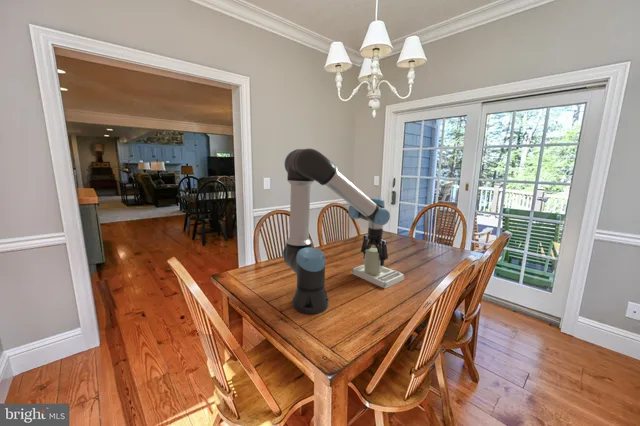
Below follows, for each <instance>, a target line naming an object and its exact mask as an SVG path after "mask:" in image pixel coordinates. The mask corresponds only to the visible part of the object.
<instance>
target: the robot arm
mask: <svg viewBox="0 0 640 426" xmlns="http://www.w3.org/2000/svg"><path fill="white" fill-rule="evenodd" d="M284 168H285V169H284V170H285V171H286V172H287V173H286V174H287V179H286V180H287V182H288V183H289V185H290V203H289V204H290V207H289V209H290V210H289V236H288V239H285V240H286V241H285V246H284V248H283V250H282V258H283V260H284V263H285V264H286V265H287V266H288V267H289V268H290V269H291V270H292V271H293V272H294V273H295V274H296V290H295V292H294V295H293V298H292V308H293V309H294V310H295V311H297V312H298V313H300V314H301V313H302V314H305V315H315V314H320V313H322V312H324V311H326V310H327V308H328V307H329V297H328V295H327V290H326V287H325V286H326V285H325V280H326V278H325V276H326V256H325V253H324V252H323V251H322V250H321V249H318V248H315V247H312V239H310V237H309V233H310V207H311V185H312V184H314V182H316V183H319V185H321V186H326V187H327V188H329V189H330V190H331V191H333V193H335V194H336V195H338V196H339V197H340V198H341V199H342V200H344V201H345V202H346V203H348V204H349V207H348V211H347V212H348V215H349V218H351V219H353V220H355V219H356V220H357V219H360V220H363V221H367V222H368V225H367V226H368V228H367V234H366V235H363V239H362V245H361V247H360V252H361V253H363V261H364V262H363V265H364V266H365V254H366V249H370V248H372V246H375V248H377V250H378V253H379V257H380V259H379V264H378V272H380V271H382V269H383V267H384V266H385V261H386V260H388V259H389V255H388V248H387V243H388V240H386V239H385V240H384V239H383V238H382V237H383V234H384V233H383V231H384V229H383V227H384V226H385V225H386V224H388V222H389V221H390V219H391V213H390V212H389V210H388V209H387V208H386V207H385V199H383V198H382V197H371V198H370V197H369V196H368V195H366V193H365V192H363V191H362V190H360V189H359V188H358V187H357V186H356V185H355V184H353V183H352V181H350V179H348V178H347V177H346V176H344V175H343V174H342V173H341V172H340V171H339V170H338V166H337V165H336V164H334V162H333V161H331V160H330V159H329V158H328V157H327V156H325V155H324V154H323V153H321V152H320V151H319V150H316V149H314V148H299V149H297V148H296V149H294V150H292V151H290V152H289V153H288V154H287V155H286V157H285V159H284Z"/></svg>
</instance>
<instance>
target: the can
mask: <svg viewBox="0 0 640 426" xmlns="http://www.w3.org/2000/svg"><path fill="white" fill-rule="evenodd" d="M379 259H380V257H379V253H378V250H377V248H376V247H371V248H370V249H366V254H365V269H364V270H365V272H367V273H370V274H379V273H381V272H382V271H380V272H378V264H379Z"/></svg>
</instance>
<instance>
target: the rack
mask: <svg viewBox="0 0 640 426" xmlns="http://www.w3.org/2000/svg"><path fill="white" fill-rule="evenodd" d="M364 269H365V266H364V264H360V265H358V266H356V267H352V268H351V275H354V276H356V277H358V278H361V279H363V280H365V281H367V282H368V283H369V282H370V283H371V284H374V285H376V286H378V287H380V288H381V289H382V288H383V289H385V290H386V289H388V288H390V287H391V286H392V287H393V286H394V285H396V284H399V283H401V282H402V280H403V281H404V280H405V274H404V273H401V272H400V271H398V270H396V269H394V270H393V269H391V268H388V267H386V266H383V269H382V272H381V273H379V274H370V273H367V272H365V270H364Z"/></svg>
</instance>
